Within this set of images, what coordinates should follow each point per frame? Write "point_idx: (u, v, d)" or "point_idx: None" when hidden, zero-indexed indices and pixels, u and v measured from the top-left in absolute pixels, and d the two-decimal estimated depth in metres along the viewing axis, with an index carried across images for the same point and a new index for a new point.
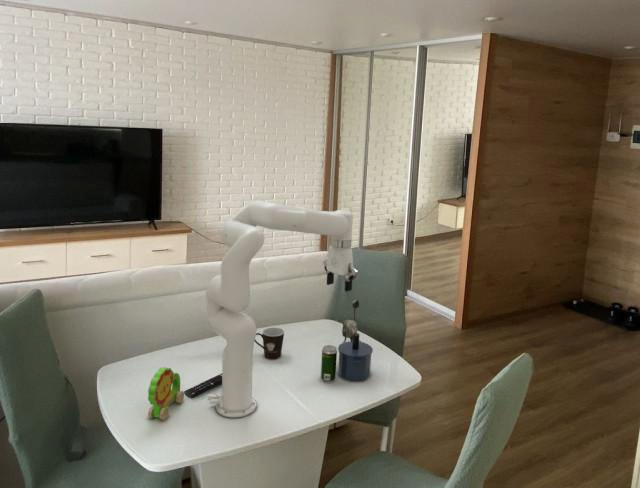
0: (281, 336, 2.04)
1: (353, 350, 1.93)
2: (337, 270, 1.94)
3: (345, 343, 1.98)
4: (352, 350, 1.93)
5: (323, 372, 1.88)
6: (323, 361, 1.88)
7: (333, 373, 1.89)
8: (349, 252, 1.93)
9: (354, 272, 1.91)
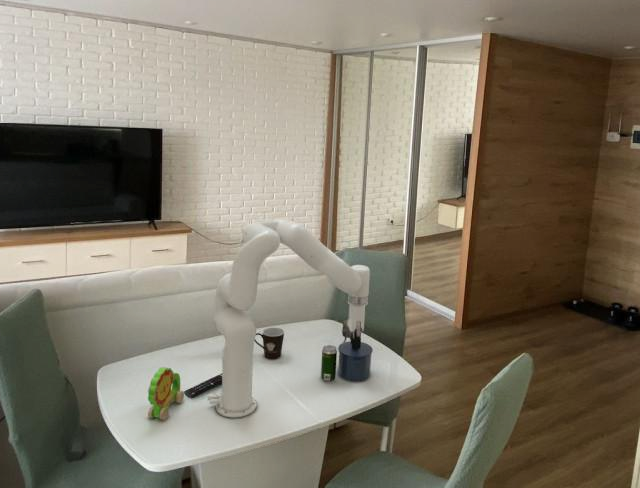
0: (281, 336, 2.04)
1: (353, 350, 1.93)
2: (349, 325, 1.92)
3: (345, 343, 1.98)
4: (352, 350, 1.93)
5: (323, 372, 1.88)
6: (323, 361, 1.88)
7: (333, 373, 1.89)
8: (359, 310, 1.88)
9: (356, 335, 1.88)
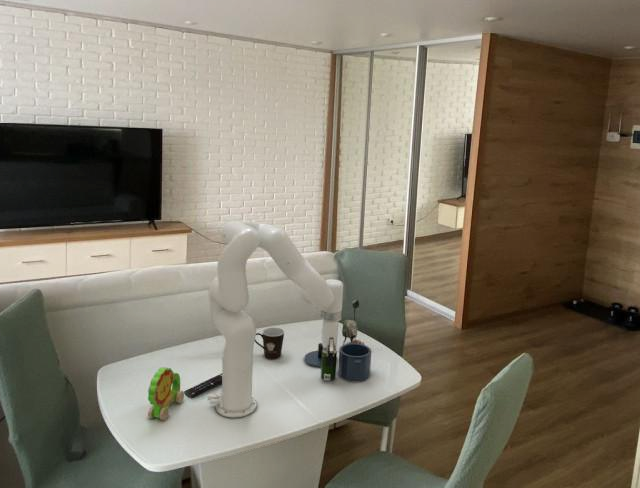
0: (281, 336, 2.04)
1: (318, 359, 2.03)
2: (322, 341, 1.87)
3: (312, 352, 2.09)
4: (317, 359, 2.03)
5: (323, 372, 1.88)
6: (323, 361, 1.88)
7: (333, 373, 1.88)
8: (331, 325, 1.83)
9: (329, 351, 1.82)
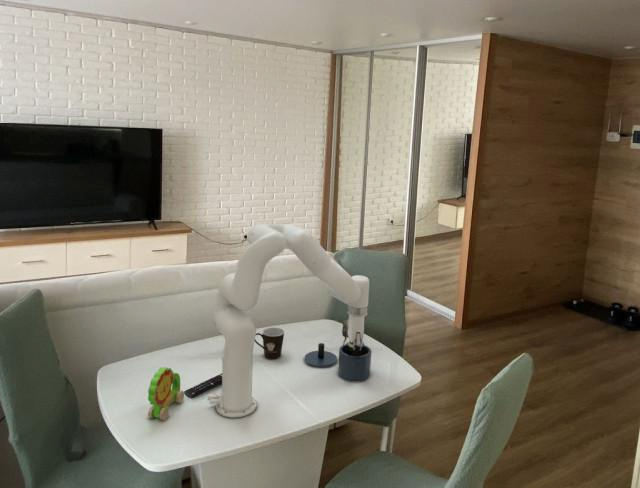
0: (281, 336, 2.04)
1: (318, 359, 2.03)
2: (349, 336, 1.92)
3: (312, 352, 2.09)
4: (317, 359, 2.03)
5: None
6: None
7: None
8: (358, 320, 1.88)
9: (356, 344, 1.87)
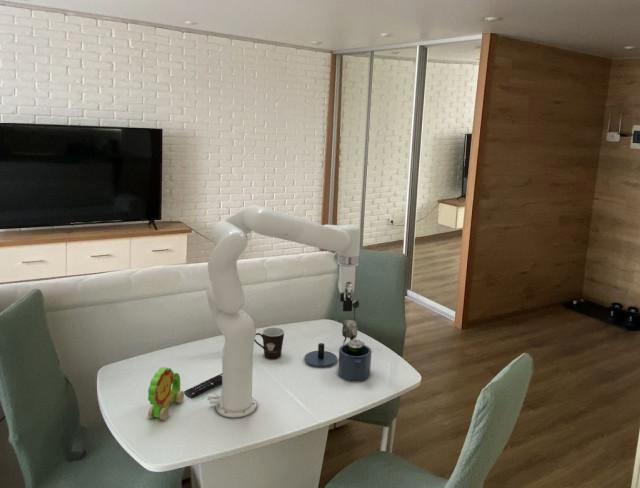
0: (281, 336, 2.04)
1: (318, 359, 2.03)
2: (339, 287, 1.84)
3: (312, 352, 2.09)
4: (317, 359, 2.03)
5: None
6: None
7: None
8: (349, 270, 1.80)
9: (347, 292, 1.78)
